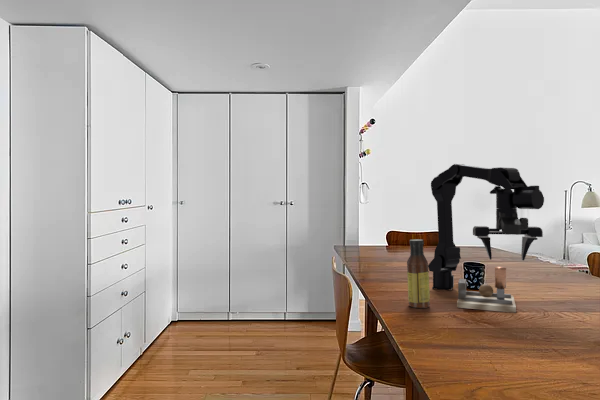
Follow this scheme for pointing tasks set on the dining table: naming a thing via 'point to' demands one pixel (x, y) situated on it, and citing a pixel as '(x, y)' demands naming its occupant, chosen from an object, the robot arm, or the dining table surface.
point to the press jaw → (500, 281)
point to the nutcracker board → (483, 300)
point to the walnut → (486, 290)
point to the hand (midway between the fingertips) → (506, 259)
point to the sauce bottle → (418, 276)
